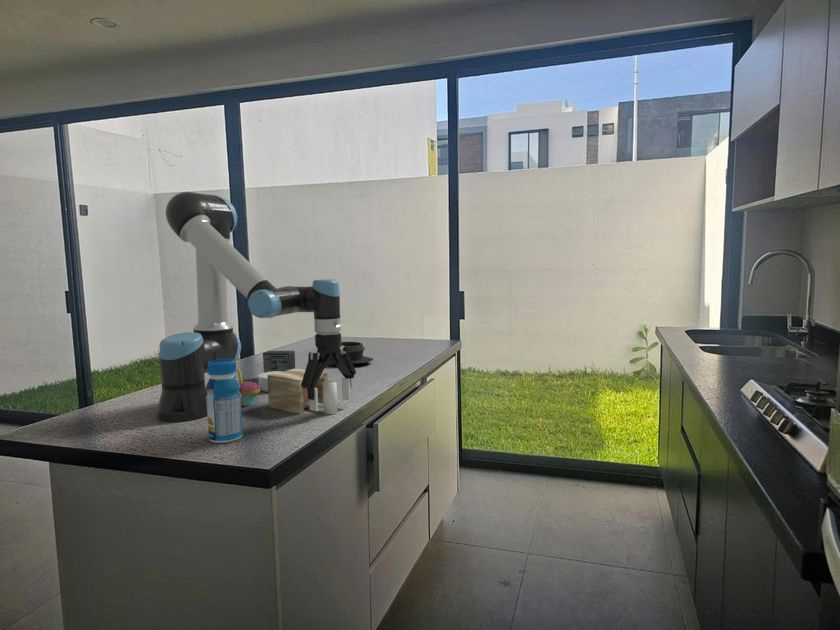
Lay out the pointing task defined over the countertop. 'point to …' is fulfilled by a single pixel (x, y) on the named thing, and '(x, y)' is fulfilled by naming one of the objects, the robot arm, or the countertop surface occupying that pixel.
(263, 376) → the ramekin
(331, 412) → the tethered block
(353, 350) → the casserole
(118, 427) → the countertop surface
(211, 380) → the beverage bottle
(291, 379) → the shelf slot
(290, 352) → the small box
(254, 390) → the cupcake
